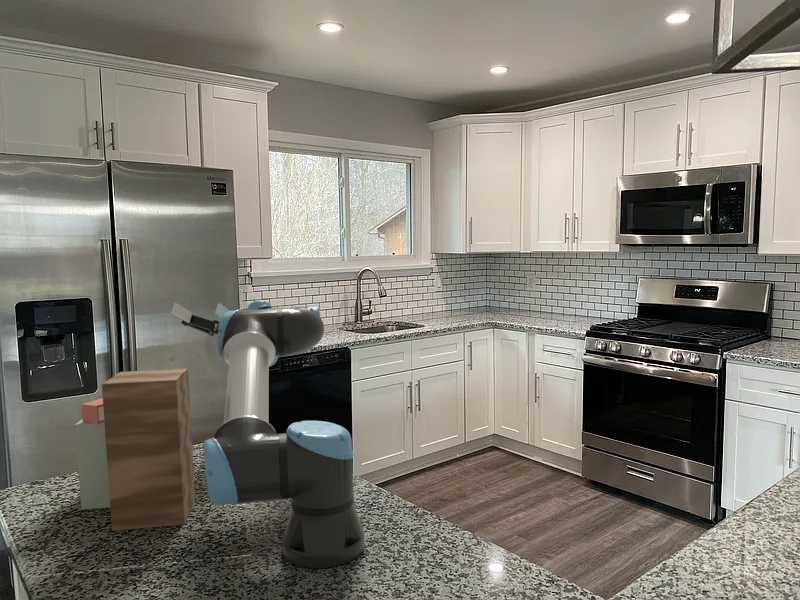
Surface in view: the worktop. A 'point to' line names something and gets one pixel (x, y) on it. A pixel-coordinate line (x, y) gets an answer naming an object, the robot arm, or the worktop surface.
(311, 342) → the robot arm
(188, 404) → the walnut block
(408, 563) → the worktop surface
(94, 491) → the sage step
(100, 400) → the salmon pink bar
